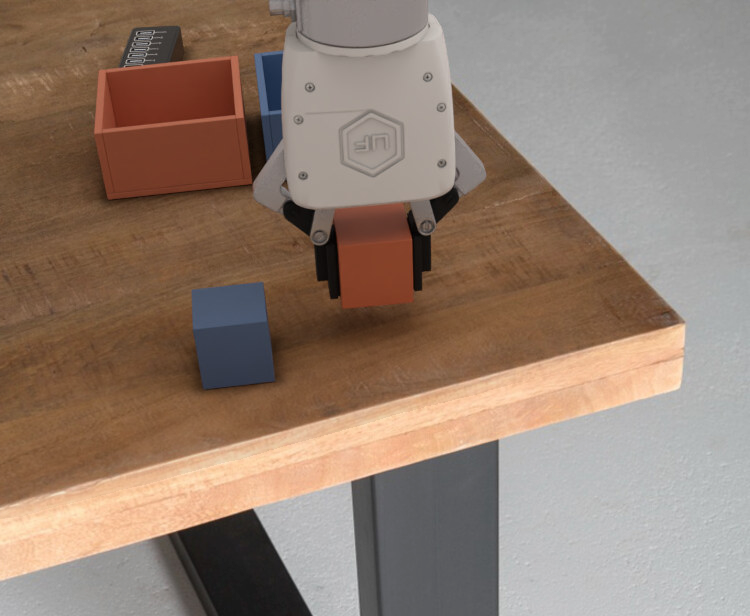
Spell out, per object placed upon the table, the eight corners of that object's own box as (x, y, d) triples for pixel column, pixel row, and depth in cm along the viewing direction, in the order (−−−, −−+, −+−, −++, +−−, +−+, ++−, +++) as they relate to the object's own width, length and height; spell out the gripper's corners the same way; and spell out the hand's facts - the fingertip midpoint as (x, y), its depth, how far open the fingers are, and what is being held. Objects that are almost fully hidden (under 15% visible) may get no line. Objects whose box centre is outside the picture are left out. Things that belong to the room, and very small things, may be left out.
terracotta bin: (107, 200, 109) (93, 133, 105) (111, 133, 117) (98, 69, 113) (252, 184, 109) (243, 117, 105) (246, 119, 117) (237, 55, 114)
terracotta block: (342, 309, 90) (338, 246, 87) (335, 271, 94) (331, 208, 90) (413, 302, 90) (412, 239, 87) (404, 264, 94) (402, 202, 91)
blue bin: (269, 182, 109) (260, 115, 105) (261, 117, 117) (253, 53, 114) (412, 166, 110) (409, 99, 106) (395, 103, 118) (391, 38, 114)
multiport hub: (184, 49, 128) (180, 24, 127) (162, 123, 118) (158, 96, 116) (136, 51, 128) (132, 26, 127) (110, 125, 118) (105, 99, 116)
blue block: (203, 390, 90) (192, 329, 87) (201, 349, 93) (191, 289, 90) (275, 381, 90) (267, 321, 87) (271, 341, 93) (263, 281, 90)
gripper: (212, 45, 76) (246, 328, 89) (522, 19, 77) (513, 303, 90) (208, -10, 82) (241, 265, 94) (498, -33, 82) (492, 242, 95)
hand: (373, 281), depth 92 cm, fingers closed on terracotta block, 4 cm apart
